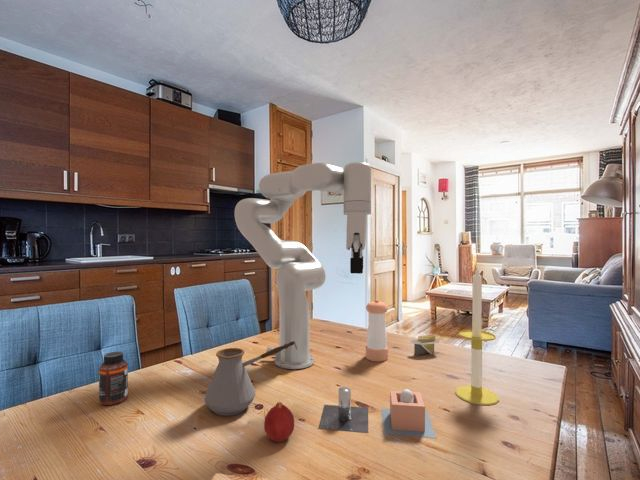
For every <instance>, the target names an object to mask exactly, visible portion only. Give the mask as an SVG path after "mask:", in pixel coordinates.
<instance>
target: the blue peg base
mask: <svg viewBox="0 0 640 480" xmlns="http://www.w3.org/2000/svg"><path fill="white" fill-rule="evenodd" d="M401 391H402V392H401V402H405V403H413V393H412V392H413V391H411V390H410V389H408V388H405V389H403V390H401ZM381 418H382V419H381V420H382V428H383V431H382V432H383V435H389V436H391V435H392V436H403V437H413V438H414V437H415V438H427V439H428V438H429V439H437V436H436V433H435V432H436V431H435V430H434V426H433V423H432V422H431V421H432V420H431V418H430V416H429V412H428V411H425V432H421V431H408V430H395V429H392V424H391V417H390V408H381Z"/></svg>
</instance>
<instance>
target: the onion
mask: <svg viewBox="0 0 640 480" xmlns="http://www.w3.org/2000/svg"><path fill="white" fill-rule="evenodd" d="M263 426H264V427H263V428H264V429H263V430H264V433H265V434H266V436H267V437H268V438H269V439H270V440H272V441H274V442H275V443H281V442H282V443H283V442H284V441H286V440H287V439H288V438H290V436H291V435H292V434H293V432H294V428H295V417H294V415H293V412H292V411H291V409H289V408H288V407H287V406H286V405H285V404H283V403H282V401H278V402H277V403H275V405H274V406H273V407H272V408H270V409H269V410H268V412H267V413H266V415H265V417H264V423H263Z"/></svg>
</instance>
